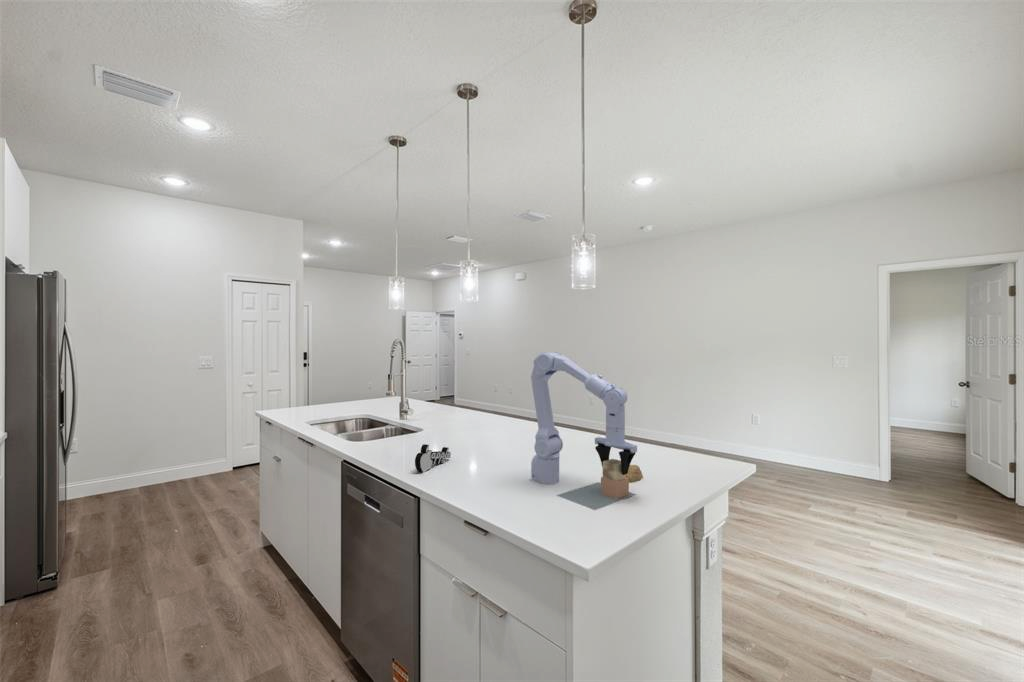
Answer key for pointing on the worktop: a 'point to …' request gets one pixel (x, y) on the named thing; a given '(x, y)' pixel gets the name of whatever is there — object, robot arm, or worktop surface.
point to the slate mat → (591, 496)
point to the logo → (430, 458)
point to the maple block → (613, 470)
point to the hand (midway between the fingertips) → (614, 471)
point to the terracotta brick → (615, 487)
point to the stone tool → (634, 473)
